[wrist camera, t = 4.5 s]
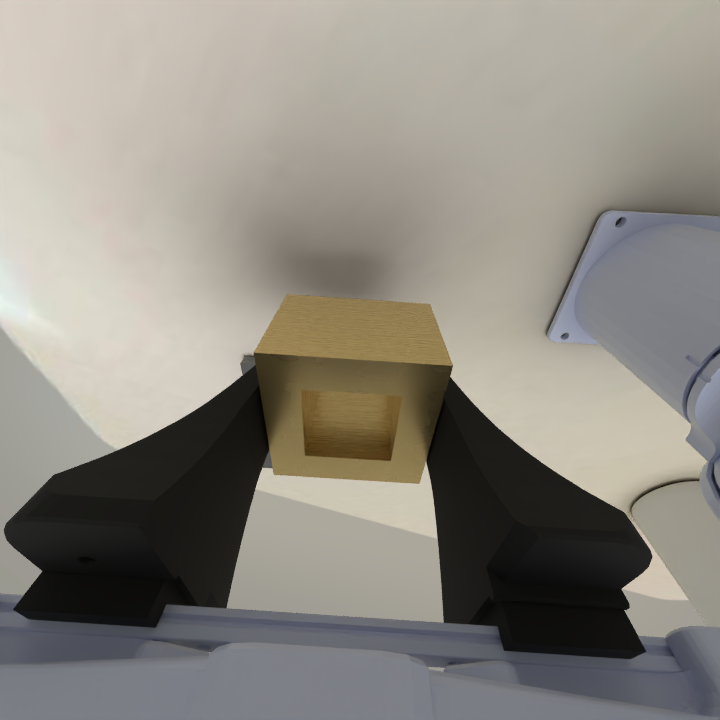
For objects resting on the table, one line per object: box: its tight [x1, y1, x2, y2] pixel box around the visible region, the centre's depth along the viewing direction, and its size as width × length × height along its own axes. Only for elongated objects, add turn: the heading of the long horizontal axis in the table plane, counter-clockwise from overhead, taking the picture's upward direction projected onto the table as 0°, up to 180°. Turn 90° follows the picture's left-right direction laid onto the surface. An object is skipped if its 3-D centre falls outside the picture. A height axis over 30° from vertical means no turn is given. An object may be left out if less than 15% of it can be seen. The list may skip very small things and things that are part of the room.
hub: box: [254, 294, 453, 484], centre depth 12 cm, size 5×5×4 cm
